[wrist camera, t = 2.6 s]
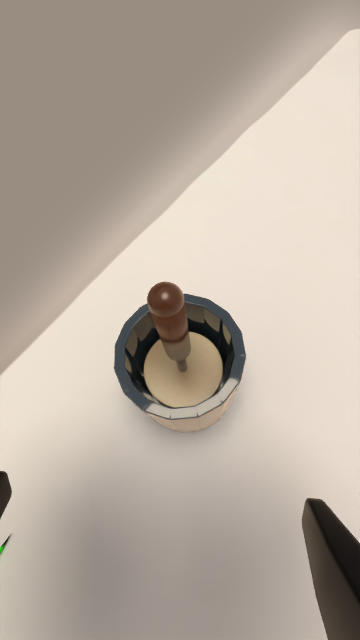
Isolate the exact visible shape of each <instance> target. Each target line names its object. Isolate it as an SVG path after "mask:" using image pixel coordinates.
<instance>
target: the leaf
mask: <svg viewBox="0 0 360 640" xmlns="http://www.w3.org/2000/svg"><path fill="white" fill-rule="evenodd" d="M10 535H11V534H10ZM9 537H10V536H9ZM9 537H8V538H9ZM8 538H7V540H8ZM7 540H6V541H5V542H4V544H3V545H2V546H1V547H0V552H1V551H2V549H3V547H4V545H5V544H6V542H7Z"/></svg>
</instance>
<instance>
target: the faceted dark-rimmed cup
mask: <svg viewBox="0 0 360 640" xmlns="http://www.w3.org/2000/svg"><path fill="white" fill-rule="evenodd" d="M183 295H184V300H185V308H186V315H187V322H188V330H189V332H194V333H197V334H200V335H202V336H204V337H206V338H207V339H208V340H210V341H211V342H212V343H213V344H214V345H215V347H216V348H217V350H218V351H219V353H220V356H221V359H222V363H223V375H222V380H221V385H220V389H219V391H218V392H217V393H216V394H215V395H213V396H212V397H210V398H208V399H206V400H204V401H202V402H201V403H199V404H197V405H195V406H186V407H175V408H170V407H167V406H164V405H161V404H160V403H159V402H158V401H157V400H156V398H155V397H154V396H153V395H152V394H151V392H150V391H149V389H148V387H147V385H146V382H145V378H144V363H145V359H146V356H147V354H148V352H149V350H150V349H151V347H152V346H153V345H154V344H155V343H156V342H157V341H158V340H159V339H160V336H159V334H158V331H157V329H156V326H155V323H154V321H153V318H152V316H151V313H150V310H149V308H148V304H145V305H143V306H142V307H140V308H139V309H138V310H137V311H136V312H135V313H134V314H133V315H132V316H131V317H130V318H129V319H128V320H127V321H126V322H125V324H124V326H123V328H122V330H121V333H120V335H119V337H118V340H117V342H116V344H115V361H114V369H115V373H116V375H117V378H118V380H119V383H120V385H121V387H122V390H123V392H124V393H125V395H126V396H127V397H128V398H129V399H130V400H132V401H133V402H134V403H135V404H136V405H137V406H138V407H139V408H140V409H141V410H142V411H144V412H145V413H146V414H148V415H149V416H150V417H152V418H153V419H154V420H156V421H157V422H158V423H160V424H161V425H163V426H164V427H167V428H170V429H172V430H175V431H179V432H195V431H200V430H203V429H205V428H207V427H209V426H211V425H212V424H214V423H215V422H217V421H218V420H219V419H220V418H221V416H222V415H223V414H224V413H225V411H226V410H227V408H228V407H229V405H230V403H231V401H232V399H233V397H234V394H235V392H236V390H237V388H238V385H239V383H240V381H241V377H242V373H243V368H244V364H245V360H246V353H245V348H244V342H243V337H242V333H241V330H240V329H239V327H238V326H237V325H236V323H235V322H234V320H233V319H232V317H231V316H230V314H229V313H228V312H227V311H225V310H224V309H222V308H221V307H220V306H218V305H217V304H215V303H214V302H212V301H211V300H208V299H206V298H202V297H198V296H193V295H189V294H183Z"/></svg>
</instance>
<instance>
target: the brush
mask: <svg viewBox="0 0 360 640" xmlns="http://www.w3.org/2000/svg"><path fill="white" fill-rule="evenodd" d="M147 304H148V308H149V310H150V313H151V316H152V318H153V321H154V323H155V326H156V329H157V331H158V334H159V336H160V339H159V340H158V341H157V342H156V343H155V344H154V345H153V346H152V347H151V349H150V350H149V352H148V354H147V356H146V359H145V363H144V378H145V382H146V385H147V387H148V389H149V391H150V392H151V394H152V395H153V396H154V397H155V398H156V400H157V401H158V402H159V403H160V404H161V405H164V406H167V407H170V408H175V407H186V406H195V405H197V404H199V403H201V402H202V401H204V400H206V399H208V398H210V397H212V396H213V395H215V394H216V393H217V392H218V391H219V389H220V385H221V380H222V375H223V363H222V359H221V356H220V353H219V351H218V350H217V348H216V347H215V345H214V344H213V343H212V342H211V341H210V340H208V339H207V338H206V337H204V336H202V335H200V334H197V333H194V332H189V330H188V322H187V315H186V308H185V300H184V295H183V293H182V291H181V289H180V288H179V287H178V286H177V285H175V284H173V283H170V282H160V283H158V284H156V285H155V286H153V287H152V289H151V290H150V291H149V293H148V297H147Z"/></svg>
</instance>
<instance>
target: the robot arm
mask: <svg viewBox="0 0 360 640" xmlns="http://www.w3.org/2000/svg"><path fill="white" fill-rule="evenodd" d="M11 493H12V490H11V486H10V483H9V479H8V475H7V473H6V472H4V471H0V518H1V516H2V514H3V512H4V510H5V508H6V506H7V504H8V502H9V500H10V497H11ZM302 527H303V533H304V538H305V543H306V548H307V553H308V558H309V564H310V569H311V574H312V579H313V584H314V589H315V594H316V598H317V602H318V606H319V609H320V613H321V616H322V620H323V623H324V627H325V630H326V634H327V637H328V640H360V543H359V542H358V541H357V540H356V538H355V537H354V536H353V535H352V534H351V533H350V531H349V530H348V529H347V528H346V527H345V526H344V524H343V523H342V522H341V521H340V520H339V519H338V517H337V516H336V515H335V514H334V513H333V512H332V510H331V509H330V508H329V507H328V506H327V505H326V503H325V502H324V501H322V500H321V499H313V498H307V499H306V501H305V505H304V511H303V516H302Z"/></svg>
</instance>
